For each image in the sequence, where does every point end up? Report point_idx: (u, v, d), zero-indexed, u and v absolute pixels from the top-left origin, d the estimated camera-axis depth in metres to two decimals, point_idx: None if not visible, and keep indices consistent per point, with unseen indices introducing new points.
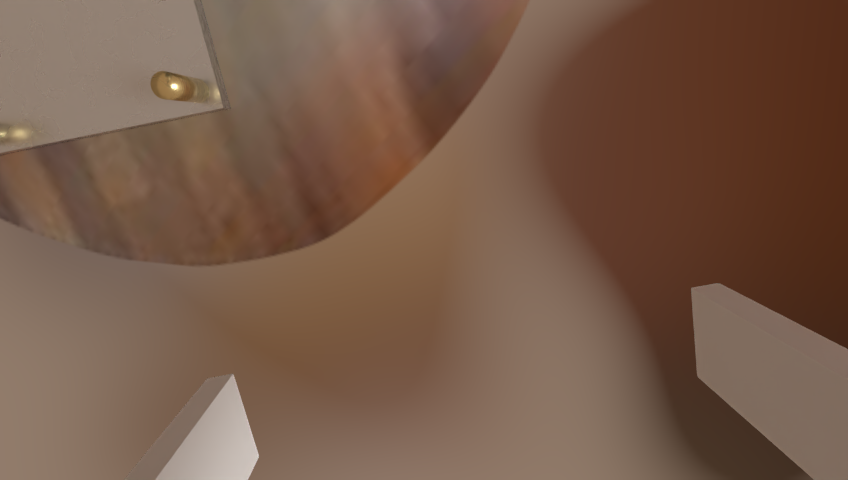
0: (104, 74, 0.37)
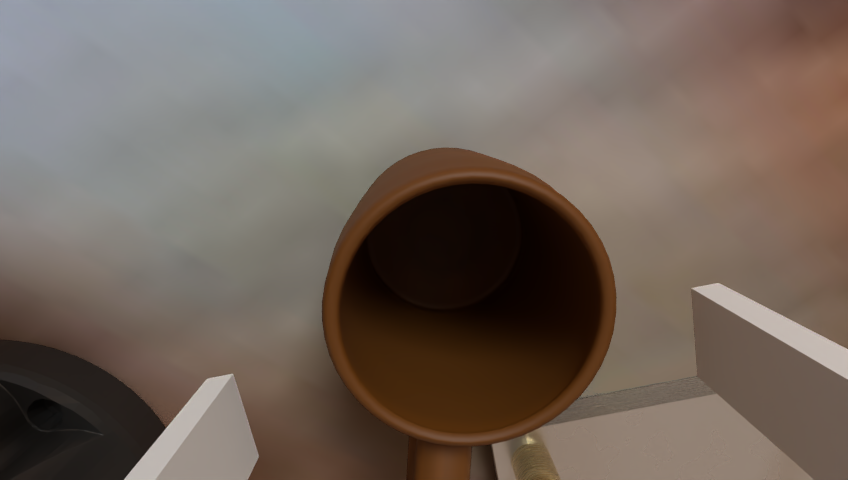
0: None
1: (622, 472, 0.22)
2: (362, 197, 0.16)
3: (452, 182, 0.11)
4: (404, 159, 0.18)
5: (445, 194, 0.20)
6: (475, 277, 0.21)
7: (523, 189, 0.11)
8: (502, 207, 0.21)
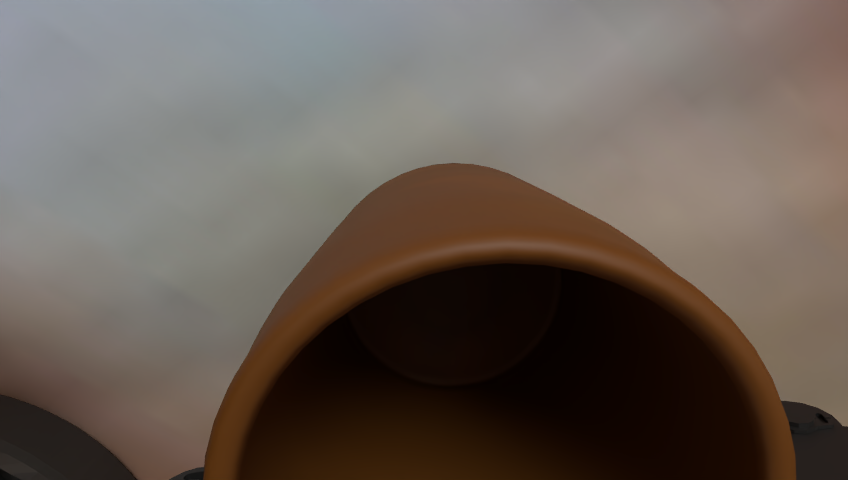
0: None
1: None
2: None
3: (464, 263, 0.05)
4: (392, 182, 0.12)
5: None
6: (495, 342, 0.15)
7: (617, 277, 0.05)
8: None
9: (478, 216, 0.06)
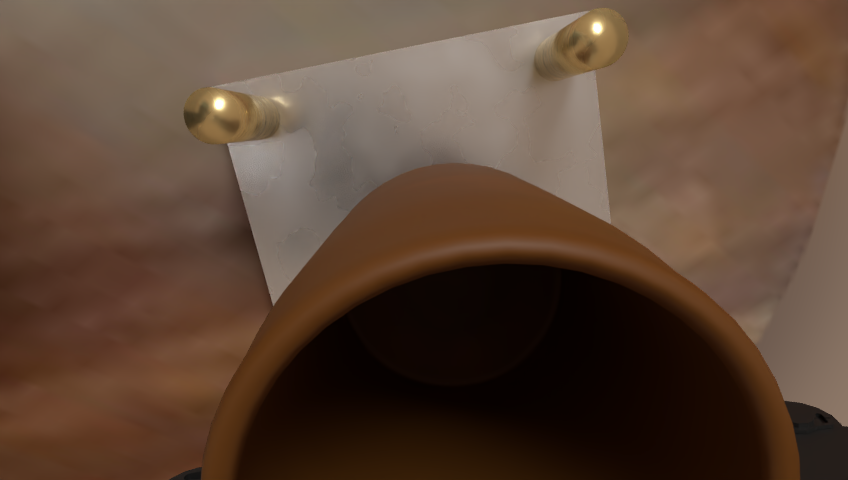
0: None
1: (359, 135, 0.21)
2: None
3: (464, 263, 0.05)
4: (391, 182, 0.12)
5: None
6: (495, 343, 0.15)
7: (618, 278, 0.05)
8: None
9: (478, 216, 0.06)
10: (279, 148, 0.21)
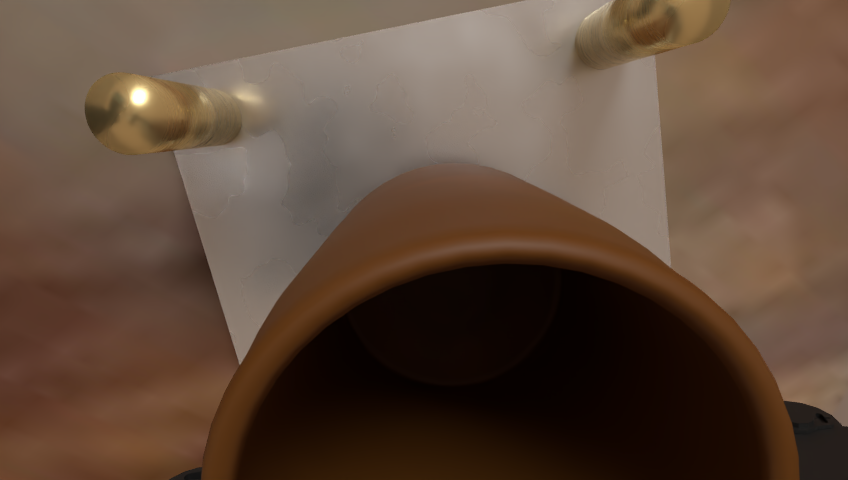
0: None
1: (345, 141, 0.16)
2: None
3: (463, 263, 0.05)
4: (391, 182, 0.12)
5: None
6: (495, 343, 0.15)
7: (618, 277, 0.05)
8: None
9: (478, 216, 0.06)
10: (241, 157, 0.16)
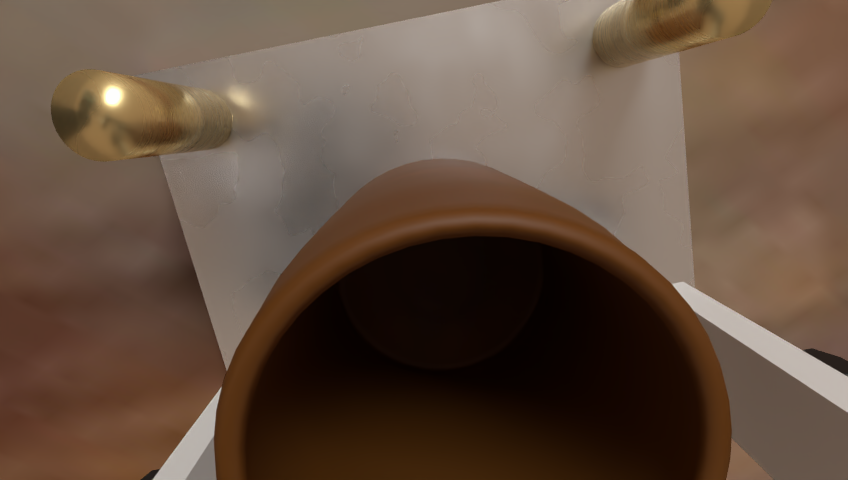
0: None
1: (344, 144, 0.15)
2: None
3: (439, 235, 0.06)
4: (381, 176, 0.13)
5: None
6: (482, 328, 0.16)
7: (569, 247, 0.06)
8: None
9: (452, 198, 0.07)
10: (232, 162, 0.15)
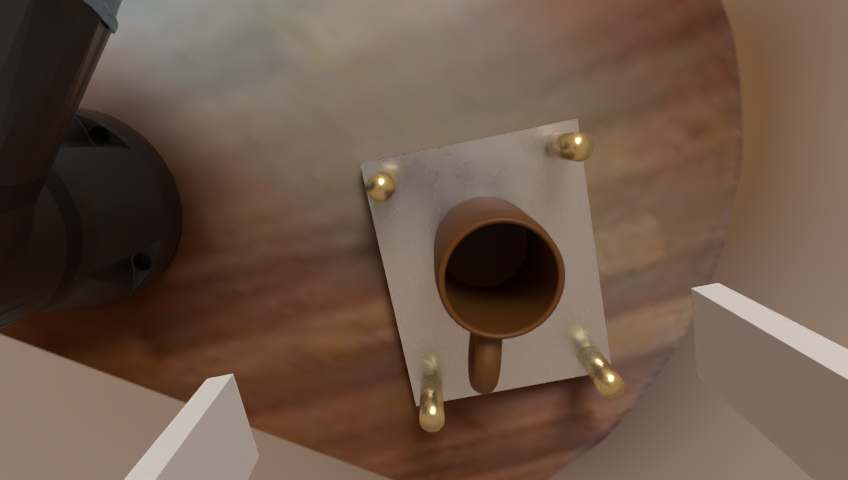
0: None
1: (443, 190, 0.36)
2: (444, 225, 0.32)
3: (493, 222, 0.27)
4: (463, 204, 0.34)
5: None
6: (502, 268, 0.37)
7: (522, 225, 0.27)
8: (516, 228, 0.36)
9: (495, 214, 0.28)
10: (397, 198, 0.36)
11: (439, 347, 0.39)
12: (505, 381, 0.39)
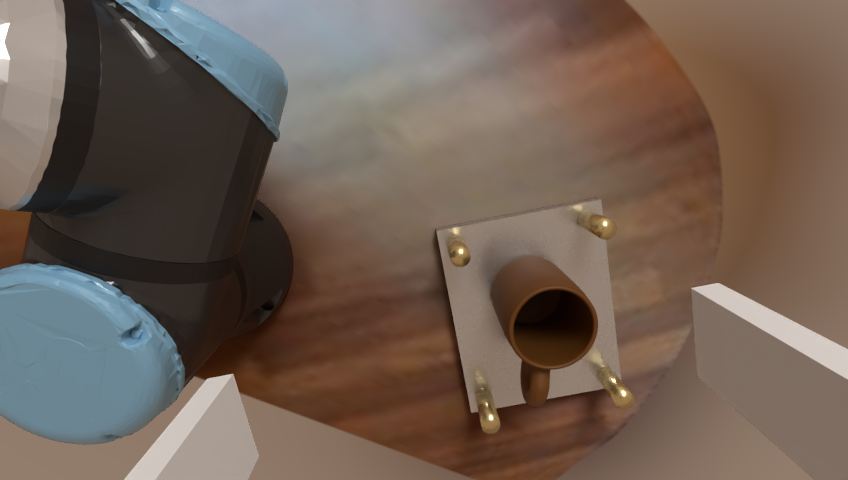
0: None
1: (499, 251, 0.47)
2: (505, 283, 0.44)
3: (549, 289, 0.38)
4: (516, 264, 0.45)
5: None
6: (541, 309, 0.49)
7: (570, 291, 0.39)
8: None
9: (550, 282, 0.39)
10: None
11: (491, 368, 0.50)
12: None
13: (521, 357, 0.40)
